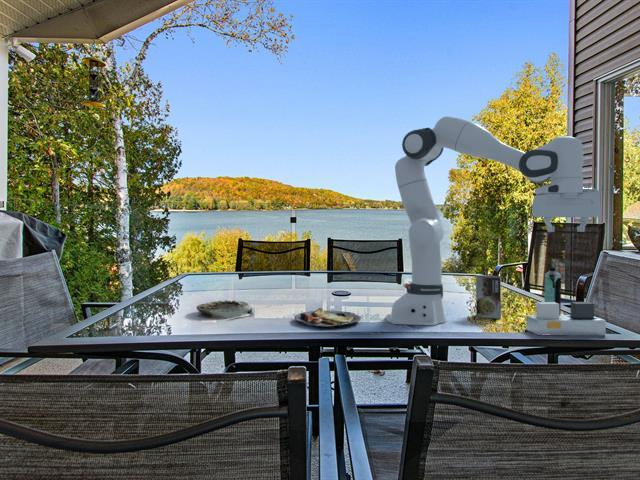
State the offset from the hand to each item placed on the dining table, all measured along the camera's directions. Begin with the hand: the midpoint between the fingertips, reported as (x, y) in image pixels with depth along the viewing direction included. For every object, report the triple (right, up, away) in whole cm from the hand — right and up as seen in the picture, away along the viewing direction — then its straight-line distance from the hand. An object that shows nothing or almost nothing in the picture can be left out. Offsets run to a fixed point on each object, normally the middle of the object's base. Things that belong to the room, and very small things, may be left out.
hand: (565, 231), depth 134 cm
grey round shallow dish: (-119, -34, +42) cm, 131 cm away
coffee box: (-11, -33, +33) cm, 48 cm away
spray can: (+11, -33, +27) cm, 44 cm away
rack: (+4, -34, +8) cm, 35 cm away
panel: (-2, -33, +8) cm, 34 cm away
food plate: (-75, -34, +26) cm, 87 cm away
